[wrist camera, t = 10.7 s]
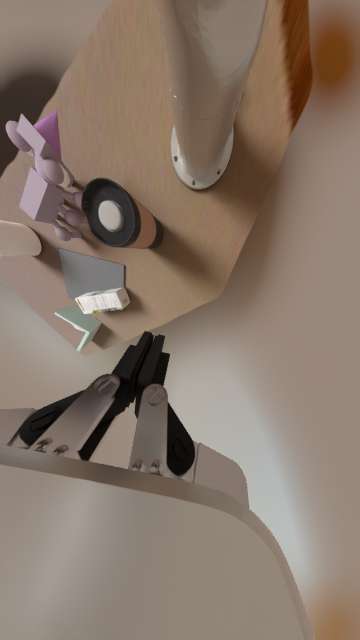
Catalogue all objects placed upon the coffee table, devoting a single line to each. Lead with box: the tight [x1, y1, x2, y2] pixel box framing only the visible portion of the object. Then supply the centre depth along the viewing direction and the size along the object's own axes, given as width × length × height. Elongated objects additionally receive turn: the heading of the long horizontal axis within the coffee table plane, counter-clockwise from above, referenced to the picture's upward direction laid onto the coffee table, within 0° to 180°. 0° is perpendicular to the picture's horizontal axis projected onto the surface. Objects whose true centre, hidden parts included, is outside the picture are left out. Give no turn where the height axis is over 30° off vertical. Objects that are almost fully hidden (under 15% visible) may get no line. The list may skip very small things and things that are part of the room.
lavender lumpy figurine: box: [6, 110, 88, 241], centre depth 27 cm, size 20×11×14 cm, turn 132°
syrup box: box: [75, 287, 130, 314], centre depth 42 cm, size 6×6×14 cm
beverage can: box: [0, 221, 41, 257], centre depth 33 cm, size 8×8×12 cm
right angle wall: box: [55, 304, 102, 351], centre depth 49 cm, size 12×12×8 cm
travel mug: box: [81, 178, 163, 249], centre depth 26 cm, size 8×8×20 cm
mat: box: [58, 248, 125, 311], centre depth 43 cm, size 16×20×1 cm
